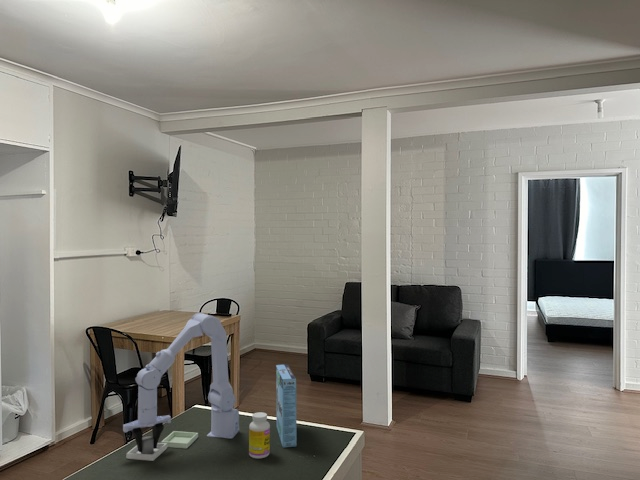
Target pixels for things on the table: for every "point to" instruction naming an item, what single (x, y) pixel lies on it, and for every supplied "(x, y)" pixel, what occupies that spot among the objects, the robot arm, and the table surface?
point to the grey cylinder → (147, 445)
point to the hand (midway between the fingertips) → (147, 449)
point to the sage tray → (180, 439)
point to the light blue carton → (286, 405)
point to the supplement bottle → (259, 436)
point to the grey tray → (137, 455)
